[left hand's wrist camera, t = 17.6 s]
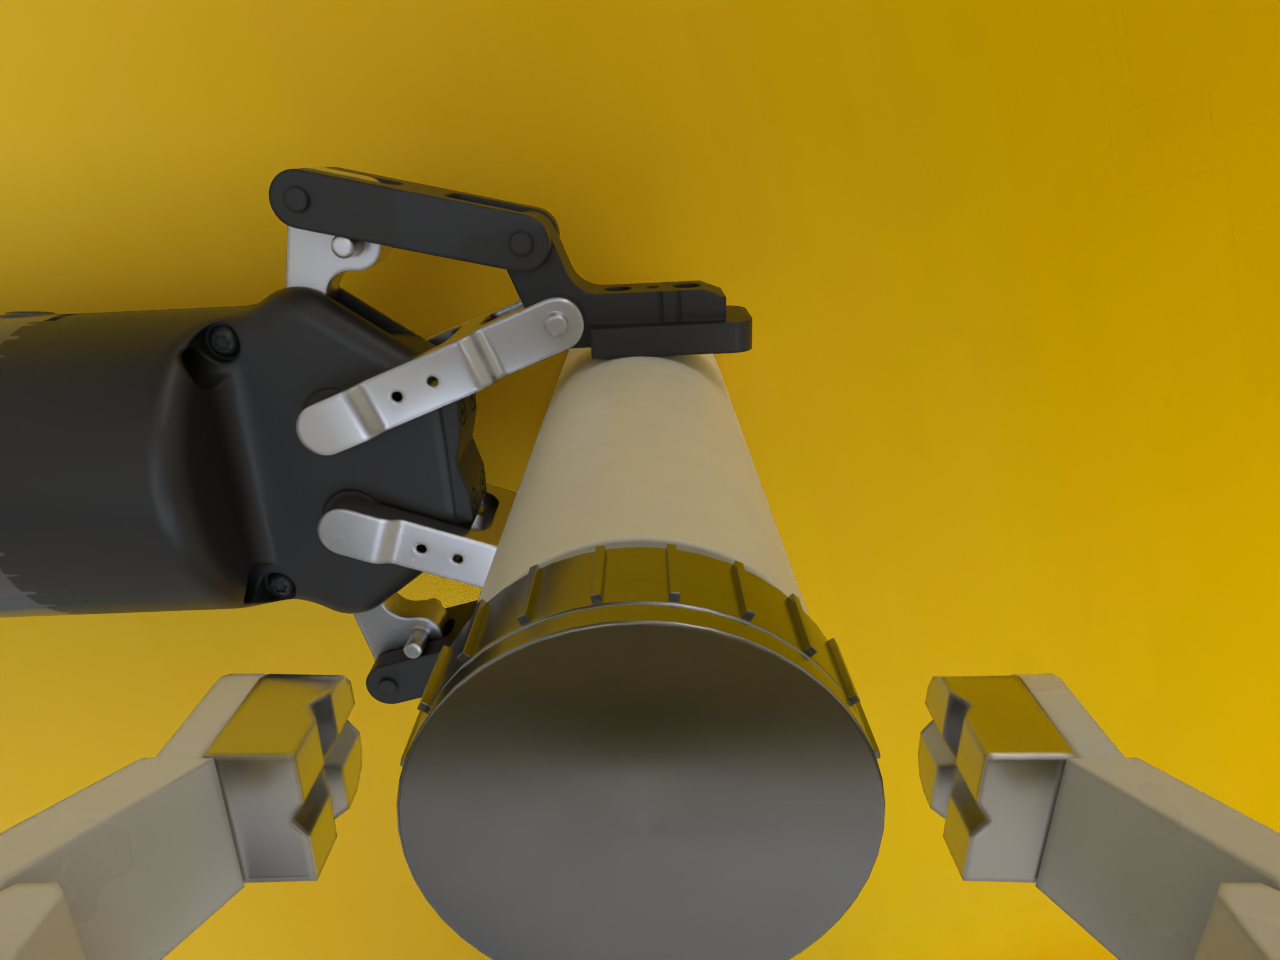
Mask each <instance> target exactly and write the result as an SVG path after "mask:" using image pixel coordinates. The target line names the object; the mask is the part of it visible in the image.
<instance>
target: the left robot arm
mask: <svg viewBox="0 0 1280 960" xmlns="http://www.w3.org/2000/svg"><path fill="white" fill-rule="evenodd" d="M354 704H355V701H354V696H353V691H352V686H351V682H350V681H349V680H348V679H347V678H346V677H345V676H340V675H293V674H268V675H265V674H228V675H226V676H223V677H220V678H219V679H218V680H217V682H216V683H215V684H214V685H213V687H212V688H211V689H210V690H209V692H208V693H207V694H206V695H205V697H204V698H203V699H202V700H201V702H200V703H199V704H198V705H197V706H196V708H195V709H194V710H193V711H192V713H191V714H190V715H189V716H188V718H187V719H186V720H185V721H184V723H183V724H182V725H181V726H180V727H179V729H178V730H177V731H176V732H175V734H174V735H173V736H172V737H171V739H170V740H169V741H168V742H167V744H166V745H165V746H164V747H163V748H162V750H161V751H160V752H159V753H158V755H157V756H156V757H155V758H141V759H139V760H137V761H136V762H134V763H132V764H130V765H128V766H126V767H124V768H122V769H120V770H119V771H117V772H115V773H113V774H111V775H109V776H107V777H105V778H104V779H102V780H100V781H98V782H96V783H94V784H92V785H90V786H88V787H87V788H85V789H83V790H81V791H79V792H77V793H75V794H73V795H72V796H70V797H68V798H66V799H64V800H62V801H60V802H58V803H56V804H55V805H53V806H51V807H49V808H47V809H45V810H43V811H41V812H40V813H38V814H36V815H34V816H32V817H30V818H28V819H26V820H24V821H23V822H21V823H19V824H17V825H15V826H13V827H11V828H9V829H8V830H6V831H4V832H2V833H0V960H162V959H163V958H164V957H165V956H166V955H167V954H169V953H170V952H171V951H172V950H173V949H174V948H175V947H176V946H178V945H179V944H180V943H181V942H182V941H183V940H184V939H186V938H187V937H188V936H189V935H190V934H191V933H192V932H193V931H195V930H196V929H197V928H198V927H199V926H200V925H201V924H203V923H204V922H205V921H206V920H207V919H208V918H209V917H210V916H212V915H213V914H214V913H215V912H216V911H217V910H218V909H220V908H221V907H222V906H223V905H224V904H225V903H226V902H228V901H229V900H230V899H231V898H232V897H233V896H234V895H235V894H237V893H238V892H239V891H240V890H241V889H242V888H243V887H244V883H249V882H284V881H317V880H318V878H319V875H320V873H321V871H322V869H323V866H324V864H325V862H326V860H327V858H328V855H329V853H330V851H331V849H332V846H333V844H334V842H335V840H336V838H337V832H336V826H335V820H334V819H336V818H337V817H338V816H340V815H341V814H342V813H344V812H345V811H346V810H348V809H349V808H350V806H351V803H352V801H353V799H354V796H355V794H356V791H357V788H358V783H359V778H360V773H361V768H362V746H361V739H360V732H359V731H358V730H357V729H356V728H355V727H354V726H353V725H352V724H351V723H350V722H349V721H348V720H347V718H348V716H349V714H350V712H351V710H352V708H353V706H354ZM925 704H926V706H927V708H928V710H929V712H930V714H931V716H932V718H933V720H932V721H931V722H930V723H929V724H928V725H927V726H926V727H925V728H924V729H923V730H922V731H921V733H920V742H919V750H918V761H919V774H920V779H921V783H922V787H923V791H924V794H925V796H926V799H927V801H928V803H929V806H930V808H931V809H932V810H934V811H935V812H937V813H938V814H939V815H941V816H942V817H943V818H945V819H946V821H945V827H944V833H943V837H944V840H945V842H946V844H947V846H948V848H949V851H950V853H951V855H952V857H953V859H954V862H955V864H956V866H957V868H958V870H959V873H960V875H961V877H962V879H963V881H995V882H1030V883H1036V887H1037V888H1038V889H1039V890H1041V891H1042V892H1043V893H1044V894H1045V895H1046V896H1047V897H1048V898H1050V899H1051V900H1052V901H1053V902H1054V903H1055V904H1056V905H1058V906H1059V907H1060V908H1061V909H1062V910H1063V911H1064V912H1065V913H1067V914H1068V915H1069V916H1070V917H1071V918H1072V919H1073V920H1075V921H1076V922H1077V923H1078V924H1079V925H1080V926H1081V927H1082V928H1084V929H1085V930H1086V931H1087V932H1088V933H1089V934H1090V935H1091V936H1093V937H1094V938H1095V939H1096V940H1097V941H1098V942H1099V943H1101V944H1102V945H1103V946H1104V947H1105V948H1106V949H1107V950H1108V951H1110V952H1111V953H1112V954H1113V955H1114V956H1115V957H1116V958H1118V959H1119V960H1280V833H1278V832H1276V831H1274V830H1272V829H1270V828H1268V827H1267V826H1265V825H1263V824H1261V823H1259V822H1257V821H1255V820H1253V819H1252V818H1250V817H1248V816H1246V815H1244V814H1242V813H1240V812H1238V811H1237V810H1235V809H1233V808H1231V807H1229V806H1227V805H1225V804H1223V803H1222V802H1220V801H1218V800H1216V799H1214V798H1212V797H1210V796H1208V795H1207V794H1205V793H1203V792H1201V791H1199V790H1197V789H1195V788H1193V787H1192V786H1190V785H1188V784H1186V783H1184V782H1182V781H1180V780H1178V779H1177V778H1175V777H1173V776H1171V775H1169V774H1167V773H1165V772H1163V771H1161V770H1160V769H1158V768H1156V767H1154V766H1152V765H1150V764H1148V763H1146V762H1145V761H1143V760H1141V759H1139V758H1125V757H1124V756H1123V755H1122V753H1121V752H1120V751H1119V750H1118V748H1117V747H1116V746H1115V745H1114V743H1113V742H1112V741H1111V740H1110V739H1109V737H1108V736H1107V735H1106V734H1105V732H1104V731H1103V730H1102V729H1101V727H1100V726H1099V725H1098V724H1097V723H1096V721H1095V720H1094V719H1093V718H1092V716H1091V715H1090V714H1089V713H1088V711H1087V710H1086V709H1085V708H1084V706H1083V705H1082V704H1081V703H1080V702H1079V700H1078V699H1077V698H1076V697H1075V695H1074V694H1073V693H1072V692H1071V690H1070V689H1069V688H1068V687H1067V686H1066V684H1065V683H1064V682H1063V681H1062V679H1061V678H1059V677H1058V676H1056V675H1054V674H1052V673H1045V674H1014V675H1011V676H934V677H932V679H931V682H930V684H929V686H928V690H927V696H926V702H925Z"/></svg>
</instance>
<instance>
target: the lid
mask: <svg viewBox="0 0 1280 960" xmlns="http://www.w3.org/2000/svg"><path fill="white" fill-rule="evenodd" d="M418 710H420V712H419V715H418V717H417V720H416V722H415V725H414V728H413V730H412V733H411V735H410V738H409V740H408V743H407V745H406V748H405V750H404V753H403V755H402V758H401V766H403V769H402V772H401V776H400V779H399V788H398V797H397V817H398V831H399V835H400V839H401V844H402V848H403V852H404V856H405V859H406V861H407V863H408V866H409V868H410V871H411V873H412V876H413V878H414V880H415V882H416V883H417V885H418V887H419V888H420V890H421V892H422V893H423V895H424V897H425V898H426V900H427V901H428V902H429V904H430V905H431V906H432V907H433V909H434V910H435V911H436V912H437V914H438V915H439V916H440V917H441V918H442V920H443V921H444V922H445V923H447V924H448V925H449V926H450V927H451V928H452V929H453V930H454V931H455V932H456V933H457V934H458V935H459V936H460V937H461V938H463V939H464V940H465V941H467V942H468V943H469V944H471V945H472V946H473V947H475V948H476V949H477V950H479V951H480V952H481V953H483V954H484V955H486V956H488V957H490V958H491V959H493V960H789V959H791V958H792V957H794V956H796V955H797V954H799V953H801V952H802V951H803V950H805V949H806V948H807V947H809V946H810V945H811V944H813V943H814V942H815V941H817V940H818V939H819V938H821V937H822V936H823V935H824V934H825V933H826V932H827V931H828V930H829V929H830V928H831V927H832V926H833V925H834V924H835V923H836V922H837V921H838V920H840V918H841V917H842V916H843V915H844V913H845V912H846V911H847V910H848V908H849V907H850V906H851V905H852V903H853V902H854V901H855V900H856V898H857V897H858V895H859V893H860V891H861V890H862V888H863V886H864V885H865V883H866V881H867V880H868V878H869V876H870V873H871V871H872V868H873V866H874V863H875V861H876V858H877V856H878V852H879V848H880V843H881V839H882V835H883V830H884V816H885V798H884V789H883V781H882V776H881V773H880V769H879V766H878V762H877V758H880V752H879V749H878V746H877V744H876V741H875V739H874V736H873V734H872V731H871V729H870V726H869V724H868V721H867V719H866V716H865V714H864V711H863V709H862V706H861V704H860V699H859V697H858V694H857V692H856V689H855V687H854V684H853V682H852V679H851V677H850V674H849V672H848V669H847V667H846V664H845V662H844V659H843V657H842V654H841V652H840V649H839V647H838V644H837V643H836V641H835V639H834V638H832V639H830V640H828V641H827V639H826V638H825V636H824V635H823V633H822V632H821V630H820V629H819V627H818V626H817V625H816V624H815V622H814V621H813V620H812V619H811V618H810V617H809V616H808V615H807V614H806V613H805V612H804V611H803V609H802V606H801V603H800V600H799V598H798V597H797V596H796V595H795V594H793V593H792V594H791V595H790V596H789V597H788V596H786V595H785V594H784V593H783V592H781V591H780V590H779V589H778V588H776V587H774V586H773V585H771V584H769V583H768V582H766V581H764V580H763V579H761V578H760V577H758V576H756V575H755V574H752V573H750V572H748V571H746V570H745V569H744V565H743V563H741V562H739V561H736V560H735V561H734V563H733V565H732V564H730V563H728V562H725V561H722V560H718V559H715V558H712V557H708V556H705V555H702V554H698V553H692V552H687V551H681V550H677V549H676V545H673V544H667V546H666V548H651V547H630V548H614V549H606V548H605V545H601V546H596V549H595V552H590V553H584V554H580V555H576V556H573V557H570V558H567V559H564V560H560V561H557V562H554V563H552V564H549V565H547V566H545V567H543V568H540V567H539V565H538V564H536V565H534V566H532V567H530V569H529V573H528V574H527V575H525V576H524V577H522V578H520V579H519V580H517V581H516V582H514V583H512V584H511V585H509V586H508V587H506V588H504V589H503V590H501V591H500V592H499V593H498V594H497V595H495V596H494V597H493V598H492V599H490V600H489V601H488V602H486V601H484V600H483V599H481V600H480V601H479V602H478V603H477V604H476V607H475V609H474V612H473V615H472V618H471V619H470V620H469V621H468V622H467V623H466V624H465V626H464V627H463V628H462V630H461V631H460V633H459V634H458V636H457V637H456V639H455V640H454V642H453V643H452V645H451V646H450V647H447V646H445V645H444V646H443V647H442V649H441V651H440V653H439V656H438V658H437V661H436V663H435V666H434V668H433V671H432V673H431V676H430V678H429V681H428V683H427V686H426V688H425V691H424V693H423V696H422V698H421V701H420V703H419V706H418Z"/></svg>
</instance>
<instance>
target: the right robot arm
mask: <svg viewBox="0 0 1280 960" xmlns="http://www.w3.org/2000/svg"><path fill="white" fill-rule="evenodd" d="M269 200H270V204H271V207H272V209H273V211H274V213H275V214H276V216H277V217H278V218H279V219H280V220H281V221H282V222H283V223H285V224H287V225H288V235H287V268H286V288H284V289H281V290H278V291H276V292H274V293H272V294H271V295H269V296H268V297H267V298H265V299H264V300H262V301H261V302H260V303H258V304H255V305H250V306H238V307H216V308H194V309H171V310H149V311H127V312H105V313H83V314H60V315H55V313H51V312H38V311H21V312H8V313H5V315H0V617H22V616H50V615H78V614H105V613H127V612H155V611H181V610H208V609H234V608H244V607H250V606H256V605H260V604H265V603H270V602H275V601H280V600H286V599H301V600H306V601H311V602H314V603H317V604H320V605H323V606H325V607H328V608H330V609H332V610H335V611H338V612H342V613H353V615H354V617H355V619H356V621H357V623H358V625H359V627H360V629H361V631H362V633H363V635H364V637H365V640H366V642H367V644H368V646H369V648H370V650H371V652H372V654H373V656H374V658H375V663H374V665H373V667H372V669H371V671H370V673H369V675H368V677H367V680H366V686H367V689H368V691H369V693H370V694H371V695H372V696H373V697H374V698H375V699H376V700H378V701H380V702H383V703H387V704H395V703H400V702H404V701H408V700H412V699H416V698H420V697H422V696H423V693H424V691H425V688H426V686H427V683H428V681H429V678H430V676H431V673H432V671H433V668H434V666H435V663H436V661H437V658H438V656H439V653H440V651H441V649H442V647H443V646H444V645H445V646H447V647H450V646H451V645H452V643H453V642H454V640H455V639H456V637H457V636H458V634H459V633H460V631H461V630H462V628H463V627H464V626H465V624H466V623H467V622H468V621H469V620H470V619H471V618H472V615H473V612H474V609H475V607H476V604H477V602H478V600H477V601H473V602H469V603H465V604H461V605H457V606H453V607H449V608H445V609H444V607H442V603H441V602H440V601H439V600H438V599H435V598H431V599H428V600H421V601H412V600H408V599H406V598H404V597H402V596H400V595H399V594H398V593H397V592H398V591H399V590H400V589H402V588H403V587H404V586H406V585H407V584H408V583H409V582H411V581H412V580H413V579H415V578H416V577H417V576H419V575H420V574H421V573H423V572H426V573H430V574H433V575H437V576H441V577H444V578H448V579H451V580H455V581H459V582H462V583H466V584H469V585H473V586H477V587H480V588H483V585H484V583H485V580H486V577H487V574H488V571H489V569H490V566H491V563H492V560H493V558H494V555H495V552H496V549H497V547H498V544H499V541H500V538H501V536H502V533H503V530H504V527H505V525H506V522H507V519H508V516H509V514H510V511H511V508H512V505H513V503H514V500H515V497H516V494H517V493H516V492H513V491H509V490H506V489H502V488H499V487H495V486H492V485H489V484H486V479H485V471H484V464H483V461H482V459H481V456H480V454H479V452H478V449H477V447H476V444H475V442H474V439H473V428H474V422H475V415H476V409H477V406H476V398H475V393H476V392H478V391H480V390H482V389H484V388H486V387H488V386H490V385H492V384H493V383H495V382H496V381H497V380H499V379H500V378H502V377H504V376H506V375H508V374H511V373H513V372H516V371H518V370H520V369H523V368H525V367H527V366H530V365H532V364H534V363H537V362H539V361H542V360H544V359H546V358H549V357H551V356H553V355H556V354H558V353H560V352H563V351H565V350H568V349H570V348H591V355H592V359H606V358H625V357H639V356H643V357H651V356H674V355H696V354H719V353H738V352H744V351H748V350H750V349H752V317H751V316H750V314H749V313H748V311H747V310H746V308H744V307H740V306H726V297H725V295H724V293H723V292H722V290H721V288H719V287H716V286H713V285H710V284H708V283H705V282H702V281H681V282H661V283H638V284H616V285H596V284H592V283H589V282H587V281H585V280H584V279H582V278H581V277H580V276H579V275H578V274H577V273H576V272H575V270H574V269H573V267H572V265H571V263H570V261H569V259H568V256H567V254H566V252H565V249H564V247H563V245H562V242H561V240H560V238H559V234H560V233H559V227H558V224H557V222H556V220H555V219H554V217H553V216H552V215H551V214H550V213H549V212H547V211H546V210H544V209H541V208H538V207H533V206H528V205H523V204H518V203H513V202H508V201H503V200H498V199H493V198H488V197H483V196H478V195H473V194H468V193H463V192H458V191H453V190H448V189H443V188H438V187H433V186H428V185H423V184H418V183H413V182H408V181H403V180H398V179H393V178H388V177H383V176H378V175H373V174H368V173H363V172H358V171H353V170H348V169H343V168H338V167H325V168H323V167H317V168H301V169H288V170H284V171H282V172H280V173H279V174H278V175H277V176H276V177H275V178H274V179H273V181H272V182H271V185H270V189H269ZM391 247H394V248H399V249H404V250H410V251H415V252H420V253H425V254H430V255H435V256H440V257H445V258H451V259H456V260H461V261H466V262H471V263H476V264H481V265H487V266H492V267H497V268H502V269H507V271H508V273H509V276H510V278H511V280H512V282H513V284H514V286H515V288H516V291H517V293H518V295H519V297H520V299H519V300H517V301H515V302H512V303H510V304H508V305H505V306H503V307H501V308H498V309H496V310H491V311H488V312H485V313H483V314H480V315H478V316H476V317H473V318H471V319H469V320H466V321H464V322H462V323H460V324H457V325H455V326H453V327H450V328H448V329H446V330H444V331H441V332H439V333H437V334H434V335H432V336H430V337H428V338H425V339H423V338H422V337H420V336H418V335H417V334H415V333H413V332H412V331H410V330H409V329H407V328H405V327H404V326H402V325H400V324H399V323H397V322H396V321H394V320H392V319H391V318H389V317H387V316H386V315H384V314H383V313H381V312H379V311H378V310H376V309H374V308H373V307H371V306H370V305H368V304H366V303H365V302H363V301H361V300H360V299H358V298H357V297H355V296H353V295H352V294H350V293H348V292H347V291H345V290H343V289H342V288H340V287H339V286H340V281H341V278H342V277H343V275H344V274H345V272H346V271H348V270H353V271H359V270H364V269H367V268H369V267H372V266H374V265H376V264H379V263H380V262H382V261H383V260H385V258H386V257H387V256H388V254H389V252H390V250H391ZM471 528H472V529H476V530H470V529H471Z"/></svg>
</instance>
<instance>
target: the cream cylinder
mask: <svg viewBox="0 0 1280 960" xmlns="http://www.w3.org/2000/svg"><path fill="white" fill-rule="evenodd" d="M667 544H673V545H676V549H677V550H681V551H687V552H692V553H698V554H702V555H705V556H708V557H712V558H715V559H718V560H722V561H725V562H728V563H730V564H732V565H733V563H734V561H735V560H736V561H739V562H741V563H743V565H744V569H745V570H746V571H748V572H750V573H752V574H755V575H756V576H758V577H760V578H761V579H763V580H764V581H766V582H768V583H769V584H771V585H773V586H774V587H776V588H778V589H779V590H780V591H781V592H783V593H784V594H785V595H786V596H788V597H789V596H790V595H791V594H792V593H793V594H795V595H796V596H797V597H798V598H799V600H800V603H801V606H802V609H803V611H804V612H805V613H806V614H807V615H808V616H809V614H808V611H807V608H806V605H805V603H804V600H803V597H802V595H801V592H800V589H799V586H798V584H797V581H796V578H795V575H794V573H793V570H792V567H791V564H790V562H789V559H788V556H787V553H786V551H785V548H784V545H783V542H782V540H781V537H780V534H779V531H778V529H777V526H776V523H775V520H774V518H773V515H772V512H771V509H770V507H769V504H768V501H767V498H766V496H765V493H764V490H763V487H762V485H761V482H760V479H759V477H758V474H757V471H756V468H755V466H754V463H753V460H752V457H751V455H750V452H749V449H748V446H747V444H746V441H745V438H744V435H743V433H742V430H741V427H740V424H739V422H738V419H737V416H736V413H735V411H734V408H733V405H732V402H731V400H730V397H729V394H728V391H727V389H726V386H725V383H724V380H723V378H722V375H721V372H720V369H719V367H718V364H717V361H716V359H715V356H714V354H696V355H674V356H651V357H643V356H639V357H625V358H606V359H592V355H591V348H570V349H569V351H568V354H567V356H566V359H565V362H564V365H563V368H562V370H561V373H560V376H559V379H558V381H557V384H556V387H555V390H554V392H553V395H552V398H551V401H550V403H549V406H548V409H547V412H546V414H545V417H544V420H543V423H542V425H541V428H540V431H539V434H538V436H537V439H536V442H535V445H534V447H533V450H532V453H531V456H530V458H529V461H528V464H527V467H526V469H525V472H524V475H523V478H522V481H521V483H520V486H519V489H518V492H517V494H516V497H515V500H514V503H513V505H512V508H511V511H510V514H509V516H508V519H507V522H506V525H505V527H504V530H503V533H502V536H501V538H500V541H499V544H498V547H497V549H496V552H495V555H494V558H493V560H492V563H491V566H490V569H489V571H488V574H487V577H486V580H485V583H484V585H483V588H482V591H481V594H480V596H479V599H478V602H479V601H480V600H481V599H483V600H484V601H486V602H488V601H489V600H490V599H492V598H493V597H494V596H495V595H497V594H498V593H499V592H500V591H501V590H503V589H504V588H506V587H508V586H509V585H511V584H512V583H514V582H516V581H517V580H519V579H520V578H522V577H524V576H525V575H527V574H528V573H529V569H530V567H532V566H534V565H536V564H538V565H539V567H540V568H543V567H545V566H547V565H549V564H552V563H554V562H557V561H560V560H564V559H567V558H570V557H573V556H576V555H580V554H584V553H590V552H595V549H596V546H601V545H605V548H606V549H614V548H630V547H651V548H666V546H667ZM478 602H477V603H478ZM809 617H810V616H809Z"/></svg>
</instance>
